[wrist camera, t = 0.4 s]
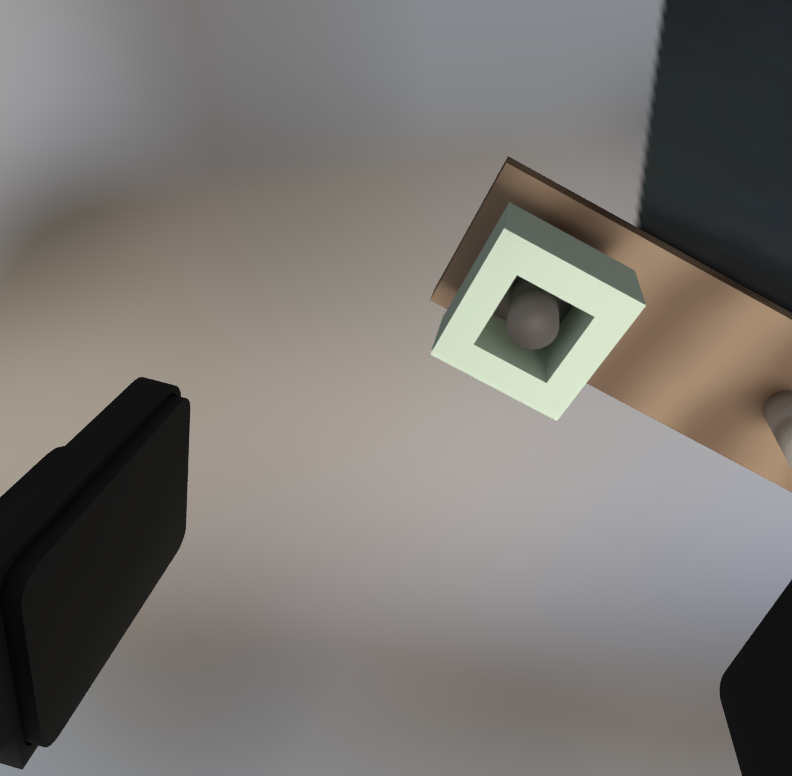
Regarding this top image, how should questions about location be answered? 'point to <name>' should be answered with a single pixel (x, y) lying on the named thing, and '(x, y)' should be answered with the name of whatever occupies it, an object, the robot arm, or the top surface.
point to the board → (657, 328)
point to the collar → (557, 274)
